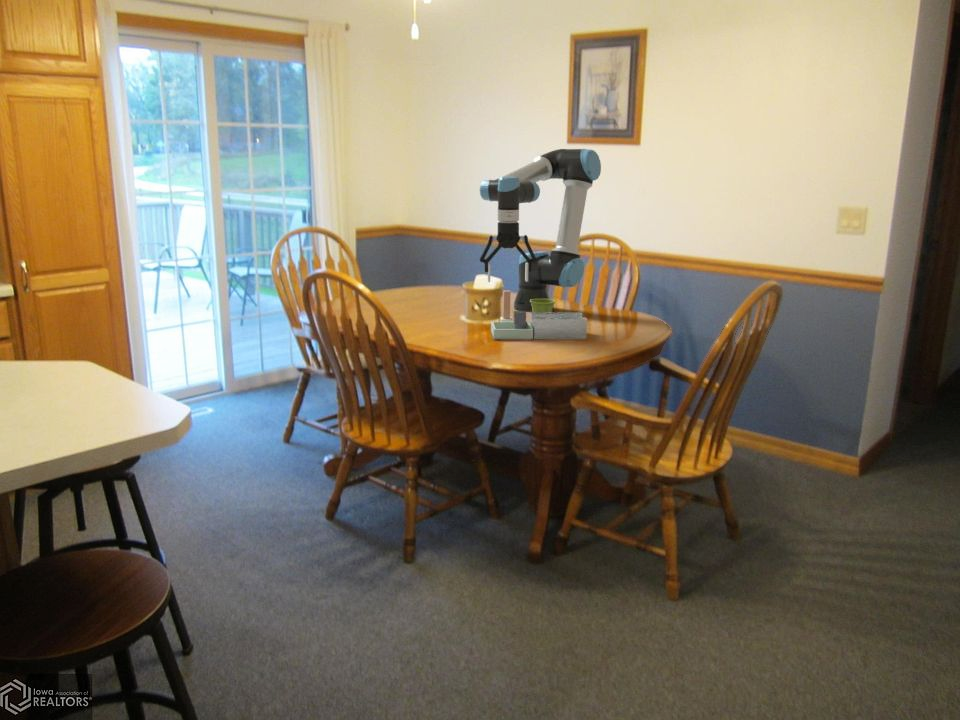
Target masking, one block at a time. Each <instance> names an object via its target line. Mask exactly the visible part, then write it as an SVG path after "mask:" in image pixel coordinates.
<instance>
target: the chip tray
mask: <svg viewBox="0 0 960 720" xmlns="http://www.w3.org/2000/svg"><path fill="white" fill-rule="evenodd" d="M526 322H527V324H528V329H515V324H514V322H513V321H512V322H500V321H490V332H491V336H492V338H493V340H495V341H496V340H497V341H500V340H503V341H504V340H510V341H511V340H517V341H518V340H519V341H521V340H522V341H523V340H527V341H528V340H529V341H530V340H534V338H533V328H532V326H531V325H530V321H526Z"/></svg>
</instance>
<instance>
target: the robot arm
mask: <svg viewBox="0 0 960 720" xmlns="http://www.w3.org/2000/svg"><path fill="white" fill-rule="evenodd" d="M601 162H602V161H601V159H600V155H599V154H598V153H597V151H596V150H593V149H587V148H570V149H569V148H560V149H555V150H552V151H549V152H546V153H543V154H542V155H539V156H537V157H535V158H534V159H533V161H532V162H530V163H528V164H526V165H524V166H522V167H519V168H518V169H516V170H513V171H511V172H509V173H507V174H505V175H503V176H500V177H499V178H496V179H485V180H483V181H482V182H481V184H480V185H479V194H480V197H481V199H482V200H484V201H489V202H497V221H498V222H497V235H496V236H495V235H491V234H490V235H488V240H487V243H486V246H485V247H484V248H483V251H482V254H481V255H480V257H479V262H481V263H483V264H484V273H487V282H488V283H491V263H490V261H492V259H493V258H494V257H495V255H496V254H497V253H498V252H499V251H500V250H501V249H514V248H516V249H517V251H518V252H519V254H520V256H519V261H518V290H517V293H516V296H515V299H514V301H513V309H515V310H516V311H525V312H532V306H531V302H530V300H531V299H550V296H549V293H548V286H554V287H561V288H573V287H576V286H577V285H578V284H579V283H580V281H581V280H582V278H583V275H584V272H585V265H584V261H583V260H582V259H581V253H580V252H579V250H578V248H579V241H580V237H581V231H582V229H581V228H582V223H583V218H584V213H585V206H586V202H587V200H586V199H587V195H588V190H589V189H590V188H592V187H593V184H594V183H593V182H594V181H596V180H598V179H599V177H600V176H601V173H602V163H601ZM554 179H557V180H558V179H560V180H562V183H563V184H564V186H565V189H564V190H565V191H564V194H563V201H562V208H561V214H560V220H559V225H558V231H557V232H558V233H557V236H556V243H555V247H554V248H553V249H551V250H550V254H549V251H547V250H539V251H533V249H532V247H531V245H530V242H529V236H528V235H527V234H524V235H520V223H519V220H520V204H525V203H526V204H527V203H528V204H530V203H532V202H536V201H537V200H538V199H539V198H540V194H541V189H540V186H539V184H538V182H540V181H542V182H544V181H548V180H554ZM520 240H521V241H522V242H523V243H524V245H525V246H526V249H527V251H528V252H525V251H524V250H523V249H522V248H521V247H520V245H519V244H518V243H519V242H520ZM495 241H497V243H498V244H497V245H496V246H495V247H494V249H493V250H492V251H491V252H490V253H489V255H488V256H487V254H488V252H489V250H490V249H491V247H492V243H494V242H495ZM486 256H487V257H486Z"/></svg>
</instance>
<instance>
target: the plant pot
mask: <svg viewBox="0 0 960 720" xmlns="http://www.w3.org/2000/svg"><path fill="white" fill-rule="evenodd" d="M530 302H531V306H532V311H531V312H553V309H554V305H555V303H556V300H555V299H550V298H549V299H531V300H530Z"/></svg>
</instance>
